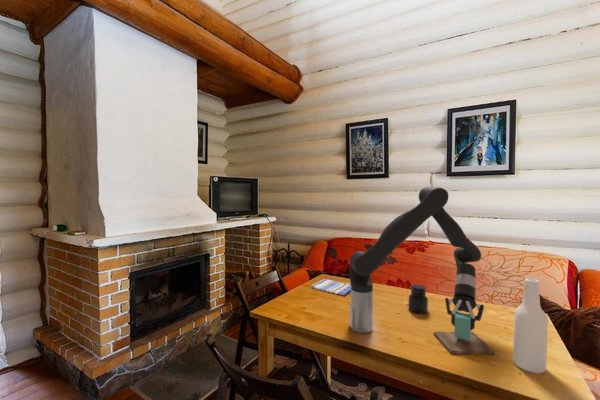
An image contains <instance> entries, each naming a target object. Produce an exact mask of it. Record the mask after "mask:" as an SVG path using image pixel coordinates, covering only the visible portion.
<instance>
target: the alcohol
mask: <svg viewBox="0 0 600 400" xmlns="http://www.w3.org/2000/svg"><path fill="white" fill-rule="evenodd" d="M540 283H541V282H540V280H538V279H536V278H531V277H530V278H529V277H526V278H524V283H523V284H524V288H523V295H522V302H521V304H520V305H519V306H517V308H516V309H515V311H514V319H513V320H514V321H513V322H514V324H513V325H514V326H513V352H512V353H513V355H512V356H513V357H512V359H513V362H514V364H515V365H516V366H517V367H518V368H520V369H521V370H523V371H526V372H527V373H531V374H538V375H539V374H540V375H541V374H543V373H544V372H546V371H547V359H548V357H547V354H548V331H549V330H548V327H549V325H548V324H549V319H548V316H547V314H546V313H545V311H544V310H543V309H542V306H541V301H540Z"/></svg>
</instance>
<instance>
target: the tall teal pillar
mask: <svg viewBox="0 0 600 400" xmlns="http://www.w3.org/2000/svg"><path fill="white" fill-rule="evenodd" d="M470 324H471V315H469V313H466V312H465V313H464V312H461V311H459V312H456V314H455V326H454V332H455V337H457V338H461V339H465V340H469V341H470V336H471V332H472V330H470Z"/></svg>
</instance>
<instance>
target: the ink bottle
mask: <svg viewBox="0 0 600 400" xmlns="http://www.w3.org/2000/svg"><path fill="white" fill-rule="evenodd" d="M426 291H427V287H426V286H425V285H423V284H418V283H414V284H411V285H410V294H409V295H408V309H409V311H411V312H413V313H416V314H426V313H428V312H429V297H427V295H426Z"/></svg>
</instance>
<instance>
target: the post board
mask: <svg viewBox="0 0 600 400" xmlns="http://www.w3.org/2000/svg"><path fill="white" fill-rule="evenodd" d="M433 336H434V337H435V338H436V339H437V340H438V341H439V343H440V344H442V346H443V347H444V348H445V349H446V350H447V352H448V353H449V354H451V355H495V354H496V351H495V350H494V349H493V348H492V347H491V346H490V345H489V344H487V343H486V341H483V340H482V338H481V337H479V336H478V335H477V334H476V333H474V332H473V331H471V336H470V341H469V340H465V339H461V338H457V337H455V331H433Z"/></svg>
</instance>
